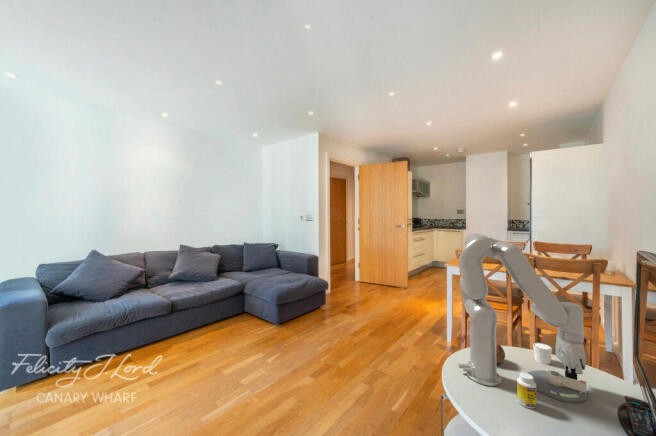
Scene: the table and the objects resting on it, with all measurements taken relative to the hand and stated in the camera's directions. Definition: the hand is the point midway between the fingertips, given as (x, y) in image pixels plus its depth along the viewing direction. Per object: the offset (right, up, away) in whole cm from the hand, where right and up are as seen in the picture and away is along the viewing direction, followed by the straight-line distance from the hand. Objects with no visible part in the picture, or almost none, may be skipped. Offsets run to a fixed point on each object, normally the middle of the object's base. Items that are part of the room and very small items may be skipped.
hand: (571, 381), depth 102 cm
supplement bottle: (-23, -3, -8) cm, 25 cm away
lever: (-3, -1, -1) cm, 3 cm away
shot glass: (+5, -3, +19) cm, 20 cm away
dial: (-5, -3, +1) cm, 6 cm away
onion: (-18, -3, +20) cm, 27 cm away
